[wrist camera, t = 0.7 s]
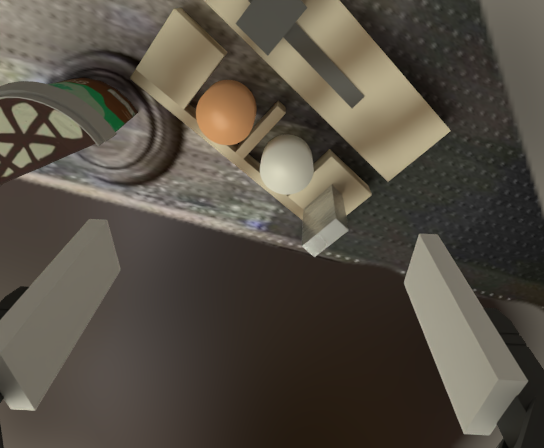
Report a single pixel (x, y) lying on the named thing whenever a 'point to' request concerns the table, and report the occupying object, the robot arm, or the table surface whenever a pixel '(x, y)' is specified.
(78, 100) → the food container
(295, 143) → the white egg
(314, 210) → the toggle lever
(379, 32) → the table surface
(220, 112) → the brown egg
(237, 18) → the beige flat pieces
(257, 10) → the slider knob
